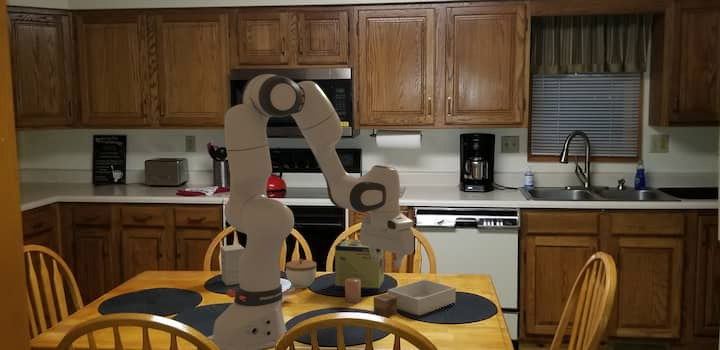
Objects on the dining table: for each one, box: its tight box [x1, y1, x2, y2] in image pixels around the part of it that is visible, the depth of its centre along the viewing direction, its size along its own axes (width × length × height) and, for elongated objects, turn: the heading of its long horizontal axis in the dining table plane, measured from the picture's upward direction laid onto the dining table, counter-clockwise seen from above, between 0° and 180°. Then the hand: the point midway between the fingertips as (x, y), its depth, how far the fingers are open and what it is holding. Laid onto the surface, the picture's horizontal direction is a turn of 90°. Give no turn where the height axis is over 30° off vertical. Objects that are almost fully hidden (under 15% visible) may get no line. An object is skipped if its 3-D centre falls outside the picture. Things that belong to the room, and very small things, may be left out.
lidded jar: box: [285, 258, 317, 289], centre depth 223 cm, size 11×11×9 cm
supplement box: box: [220, 243, 246, 286], centre depth 228 cm, size 7×7×13 cm
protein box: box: [334, 238, 385, 293], centre depth 221 cm, size 10×16×16 cm
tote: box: [387, 278, 457, 317], centre depth 203 cm, size 13×17×5 cm
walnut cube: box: [373, 293, 398, 318], centre depth 195 cm, size 5×5×5 cm
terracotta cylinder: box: [344, 278, 362, 305], centre depth 206 cm, size 5×5×7 cm
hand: (386, 264), depth 194 cm, fingers open, 8 cm apart
